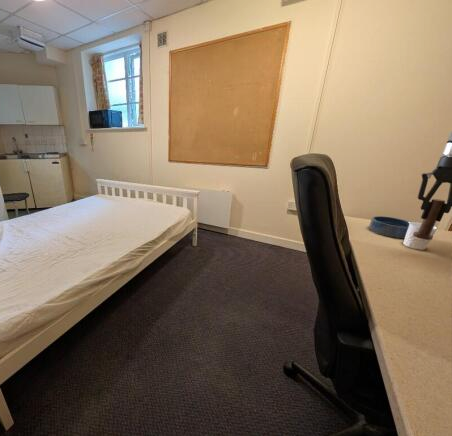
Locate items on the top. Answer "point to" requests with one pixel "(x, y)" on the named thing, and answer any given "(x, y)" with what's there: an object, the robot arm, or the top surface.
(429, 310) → the top surface
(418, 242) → the white cup
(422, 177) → the robot arm
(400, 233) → the bowl
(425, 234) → the wooden masher
